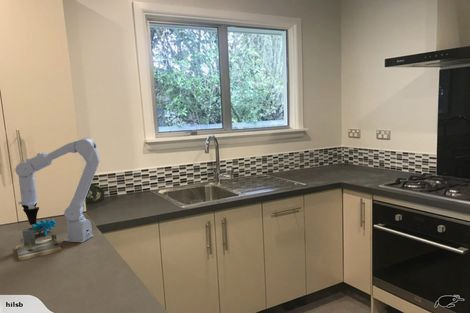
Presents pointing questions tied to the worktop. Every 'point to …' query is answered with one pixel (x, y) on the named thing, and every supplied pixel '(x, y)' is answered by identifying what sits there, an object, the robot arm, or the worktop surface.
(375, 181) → the worktop surface
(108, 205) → the worktop surface
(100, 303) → the worktop surface
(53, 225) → the blue bumpy figurine
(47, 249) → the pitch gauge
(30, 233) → the grey rectangular block
